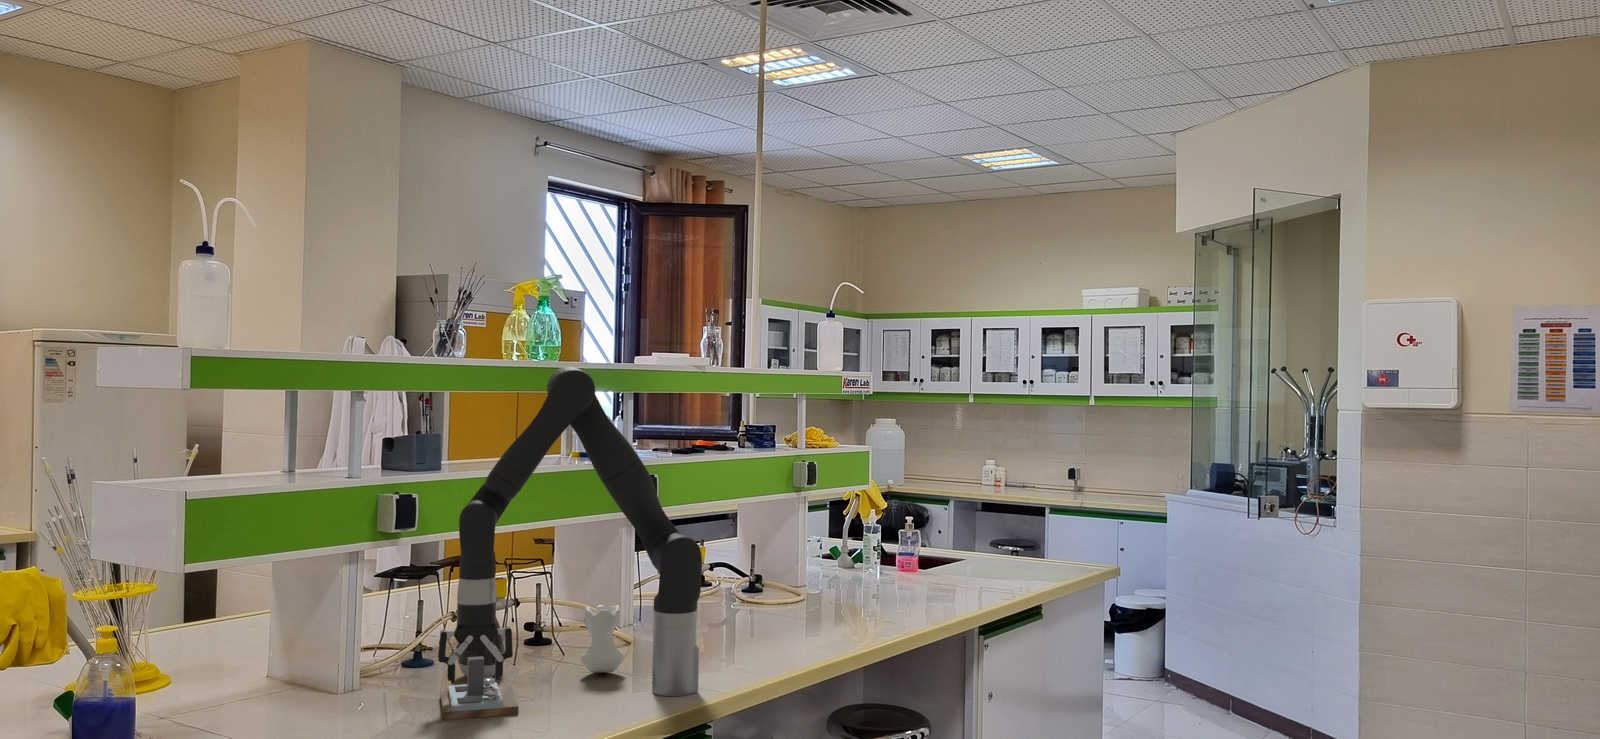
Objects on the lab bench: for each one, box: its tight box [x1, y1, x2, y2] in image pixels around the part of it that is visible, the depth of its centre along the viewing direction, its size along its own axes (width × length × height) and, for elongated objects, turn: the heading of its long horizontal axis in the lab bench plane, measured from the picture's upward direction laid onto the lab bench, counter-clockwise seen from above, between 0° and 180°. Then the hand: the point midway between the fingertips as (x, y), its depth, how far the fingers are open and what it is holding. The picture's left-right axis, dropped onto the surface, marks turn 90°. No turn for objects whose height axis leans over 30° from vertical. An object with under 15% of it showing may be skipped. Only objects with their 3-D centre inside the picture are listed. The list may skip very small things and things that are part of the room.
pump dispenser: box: [456, 617, 506, 678], centre depth 246 cm, size 10×10×15 cm
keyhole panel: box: [447, 656, 503, 711], centre depth 223 cm, size 10×16×8 cm, turn 20°
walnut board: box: [439, 677, 520, 721], centre depth 223 cm, size 14×16×4 cm
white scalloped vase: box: [580, 604, 625, 674], centre depth 251 cm, size 10×11×15 cm
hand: (474, 681), depth 223 cm, fingers open, 8 cm apart
